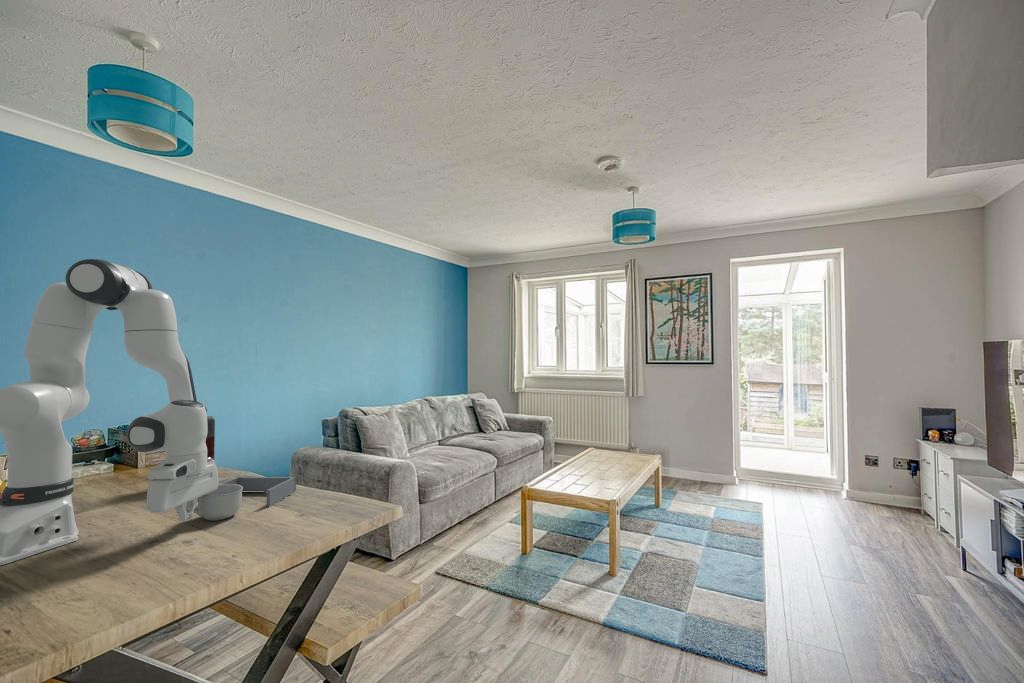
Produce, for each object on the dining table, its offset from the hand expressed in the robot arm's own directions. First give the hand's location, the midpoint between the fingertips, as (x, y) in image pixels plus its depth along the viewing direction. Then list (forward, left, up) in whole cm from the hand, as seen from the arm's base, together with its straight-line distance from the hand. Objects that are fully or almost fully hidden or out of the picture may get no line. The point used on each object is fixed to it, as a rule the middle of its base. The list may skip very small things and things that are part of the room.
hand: (185, 518), depth 117 cm
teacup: (+11, 0, -4) cm, 11 cm away
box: (+28, 0, -4) cm, 28 cm away
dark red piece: (+46, +31, -4) cm, 55 cm away
